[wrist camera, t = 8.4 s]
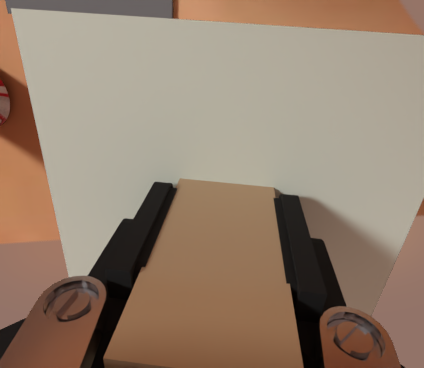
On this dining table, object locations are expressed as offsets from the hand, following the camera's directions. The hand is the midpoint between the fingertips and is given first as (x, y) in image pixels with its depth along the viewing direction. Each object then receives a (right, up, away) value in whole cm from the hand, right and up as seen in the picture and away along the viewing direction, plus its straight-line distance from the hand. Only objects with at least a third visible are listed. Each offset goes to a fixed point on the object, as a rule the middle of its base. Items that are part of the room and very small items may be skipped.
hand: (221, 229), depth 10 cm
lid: (0, +1, +1) cm, 2 cm away
